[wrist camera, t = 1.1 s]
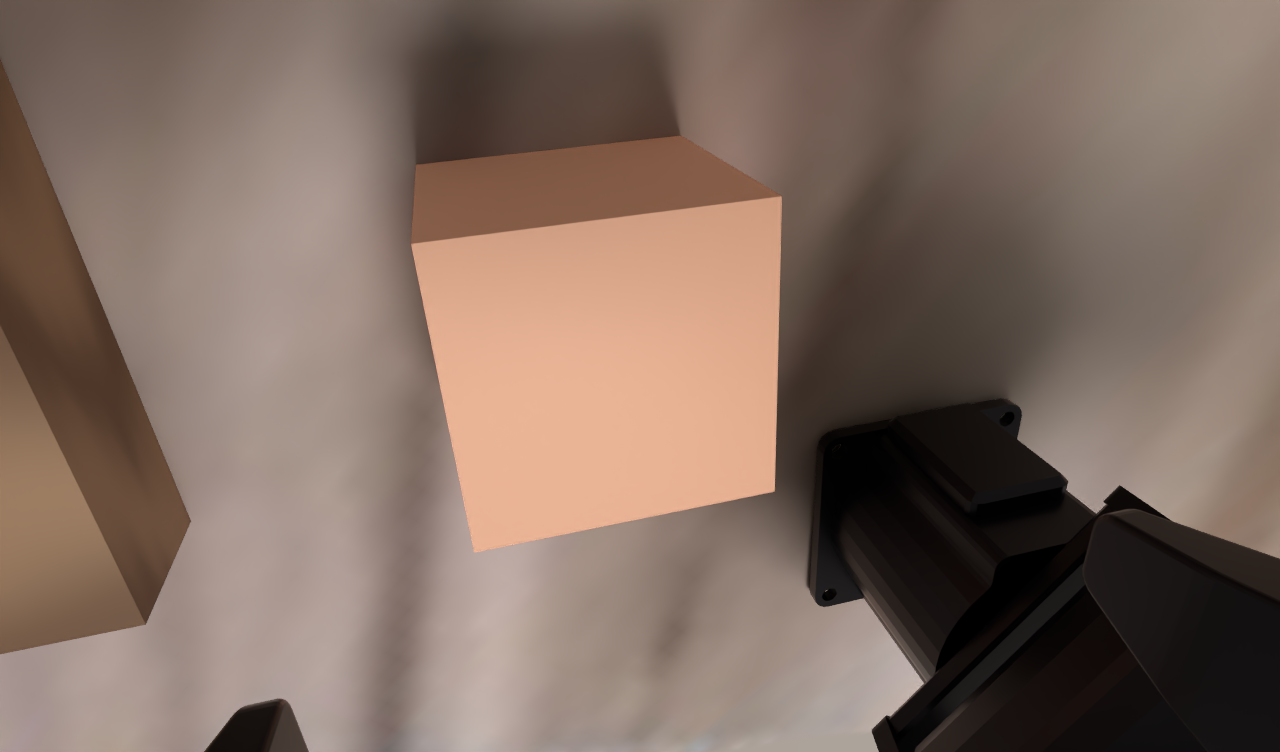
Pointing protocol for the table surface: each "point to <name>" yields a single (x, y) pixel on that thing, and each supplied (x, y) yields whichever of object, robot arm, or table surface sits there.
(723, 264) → the terracotta cube
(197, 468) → the table surface
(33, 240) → the walnut block
